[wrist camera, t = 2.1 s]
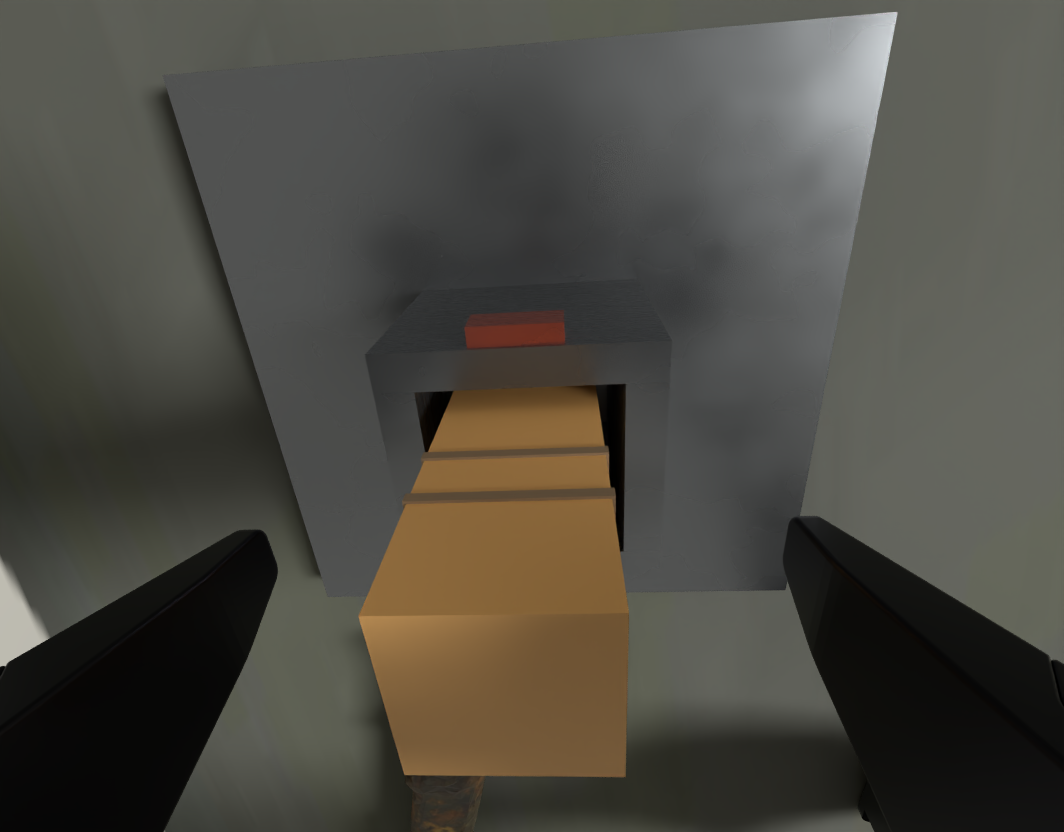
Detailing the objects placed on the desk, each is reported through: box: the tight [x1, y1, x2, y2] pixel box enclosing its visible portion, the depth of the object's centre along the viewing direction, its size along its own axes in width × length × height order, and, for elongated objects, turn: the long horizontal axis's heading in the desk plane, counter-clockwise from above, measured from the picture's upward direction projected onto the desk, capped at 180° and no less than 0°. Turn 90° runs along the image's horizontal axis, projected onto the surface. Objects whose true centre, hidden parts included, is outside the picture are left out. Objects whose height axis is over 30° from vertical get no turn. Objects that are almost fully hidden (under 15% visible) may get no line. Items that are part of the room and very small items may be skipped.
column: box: [359, 385, 629, 777], centre depth 11 cm, size 3×3×10 cm
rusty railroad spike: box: [405, 775, 486, 832], centre depth 24 cm, size 19×4×5 cm, turn 169°
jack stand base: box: [163, 12, 898, 597], centre depth 14 cm, size 16×16×6 cm
